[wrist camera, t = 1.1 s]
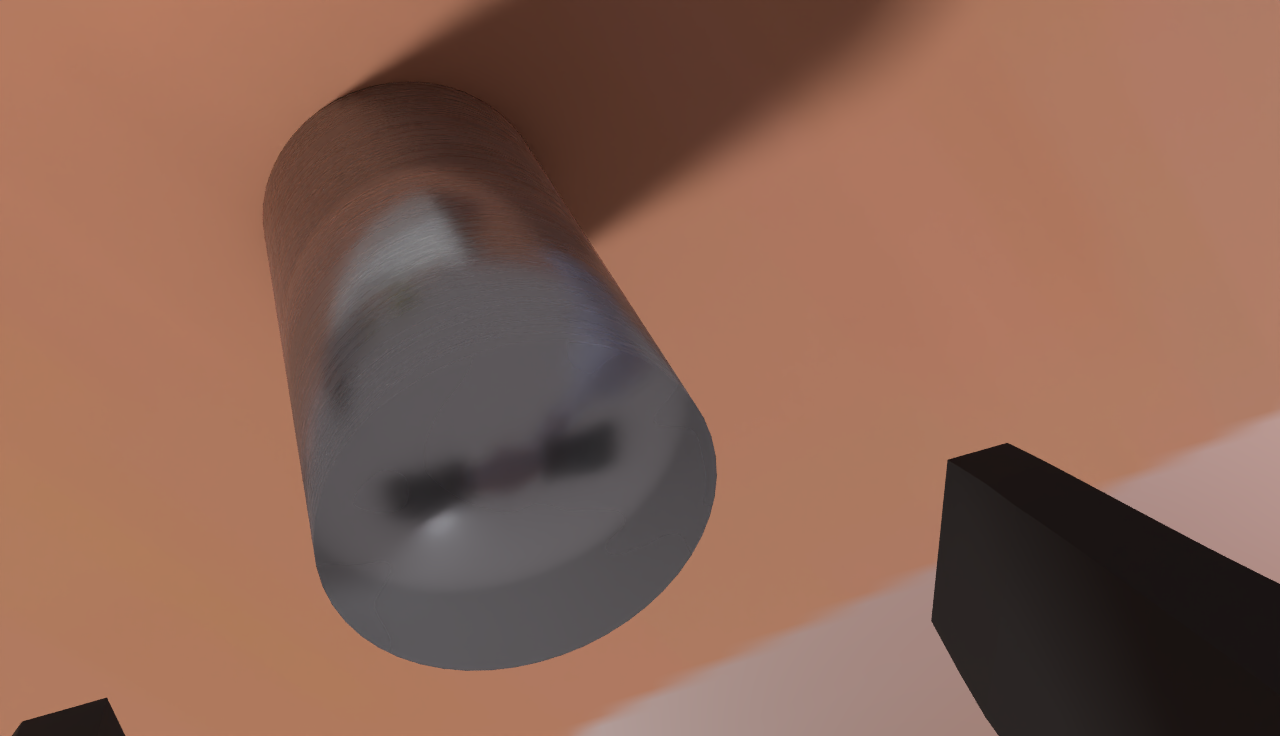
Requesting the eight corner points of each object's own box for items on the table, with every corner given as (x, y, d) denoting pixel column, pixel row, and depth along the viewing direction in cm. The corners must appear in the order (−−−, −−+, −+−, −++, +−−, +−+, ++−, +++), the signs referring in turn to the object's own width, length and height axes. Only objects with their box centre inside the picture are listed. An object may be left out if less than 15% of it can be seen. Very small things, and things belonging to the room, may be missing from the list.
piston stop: (551, 81, 17) (744, 327, 11) (533, 328, 19) (689, 638, 13) (255, 81, 15) (305, 359, 10) (270, 346, 18) (320, 699, 12)
